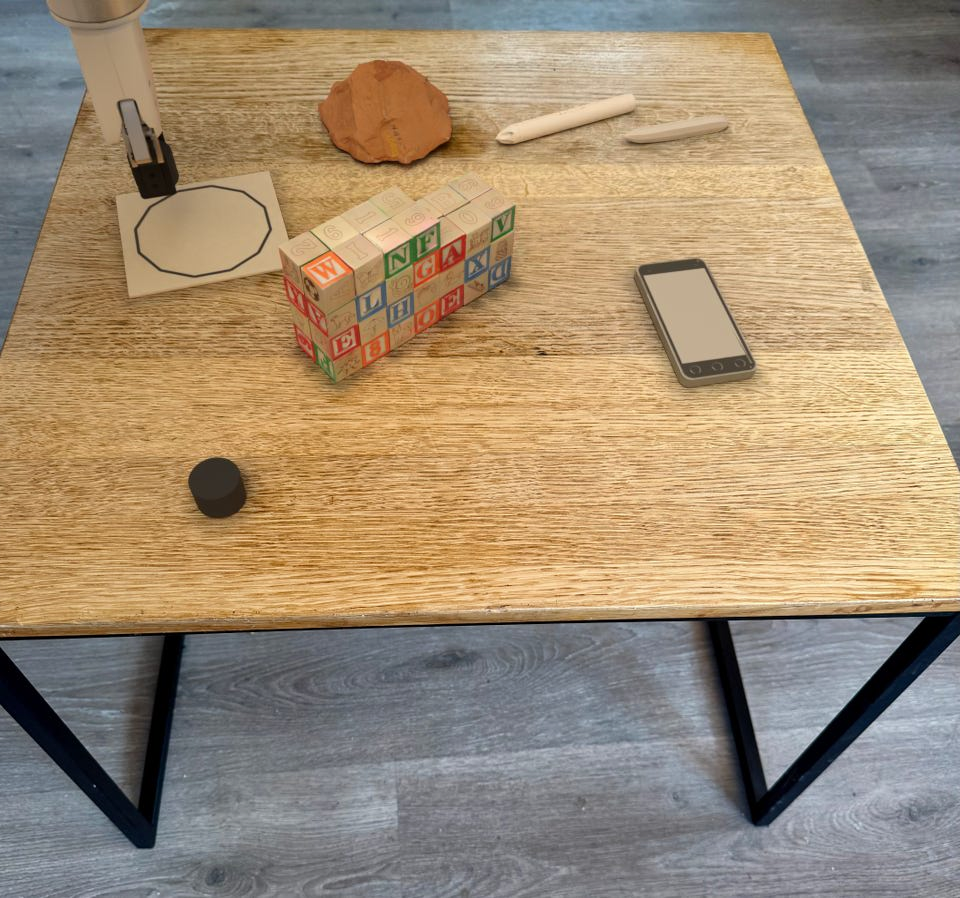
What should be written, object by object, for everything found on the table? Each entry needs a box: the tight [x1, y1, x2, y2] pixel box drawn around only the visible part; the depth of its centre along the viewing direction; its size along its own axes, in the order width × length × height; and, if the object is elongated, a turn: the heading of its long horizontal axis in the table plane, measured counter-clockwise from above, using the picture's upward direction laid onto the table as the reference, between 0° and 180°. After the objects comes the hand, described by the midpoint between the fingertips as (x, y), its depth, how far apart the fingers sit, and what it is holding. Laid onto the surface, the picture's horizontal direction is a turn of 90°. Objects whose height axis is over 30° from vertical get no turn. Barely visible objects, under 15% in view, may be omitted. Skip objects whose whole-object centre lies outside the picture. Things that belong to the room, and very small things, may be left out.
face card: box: [114, 170, 290, 299], centre depth 89 cm, size 16×15×1 cm
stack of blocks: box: [279, 171, 516, 383], centre depth 79 cm, size 21×6×12 cm, turn 131°
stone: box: [317, 59, 453, 165], centre depth 97 cm, size 15×15×10 cm
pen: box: [621, 114, 731, 144], centre depth 101 cm, size 2×14×2 cm, turn 109°
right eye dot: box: [187, 456, 247, 519], centre depth 70 cm, size 4×4×3 cm
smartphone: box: [633, 257, 758, 388], centre depth 84 cm, size 7×1×15 cm
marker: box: [495, 92, 637, 145], centre depth 100 cm, size 18×2×2 cm, turn 116°
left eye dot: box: [126, 139, 180, 186], centre depth 81 cm, size 4×4×3 cm
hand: (156, 177), depth 82 cm, fingers closed on left eye dot, 4 cm apart
